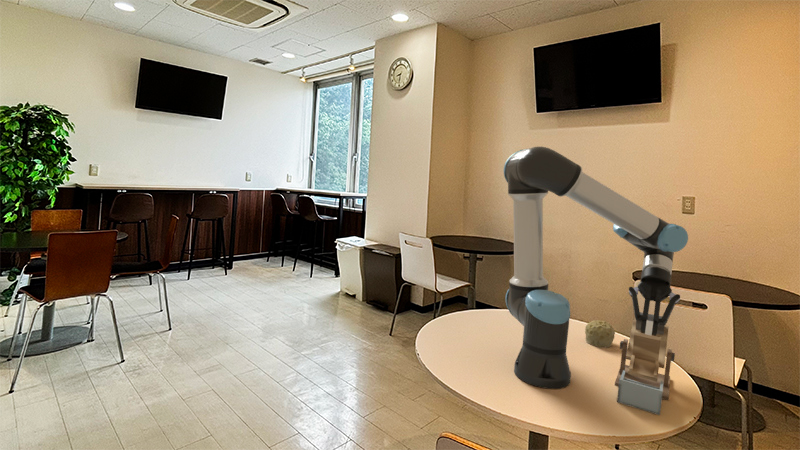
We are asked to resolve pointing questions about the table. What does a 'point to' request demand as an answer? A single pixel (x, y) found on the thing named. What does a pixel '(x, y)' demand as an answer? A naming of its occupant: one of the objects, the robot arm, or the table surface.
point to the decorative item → (599, 333)
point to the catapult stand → (662, 377)
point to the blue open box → (640, 395)
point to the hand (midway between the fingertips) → (647, 344)
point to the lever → (646, 350)
